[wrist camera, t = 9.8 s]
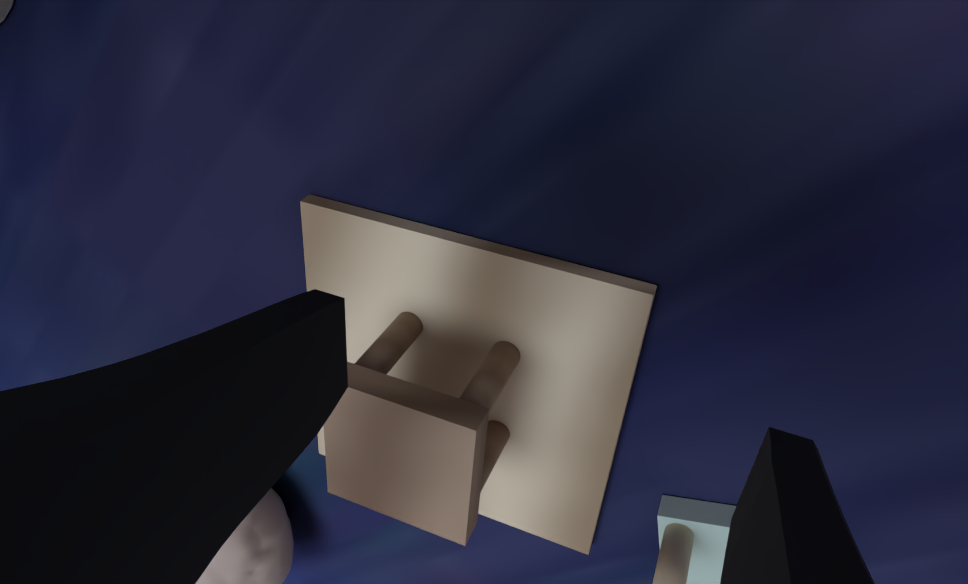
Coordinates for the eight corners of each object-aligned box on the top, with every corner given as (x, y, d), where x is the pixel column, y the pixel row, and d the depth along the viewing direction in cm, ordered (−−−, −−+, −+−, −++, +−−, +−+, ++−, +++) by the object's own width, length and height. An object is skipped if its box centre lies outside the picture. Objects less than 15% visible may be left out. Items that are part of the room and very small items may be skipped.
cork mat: (657, 285, 21) (653, 295, 20) (591, 542, 27) (588, 554, 27) (310, 194, 24) (300, 201, 24) (326, 444, 31) (318, 453, 30)
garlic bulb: (210, 504, 37) (86, 636, 31) (201, 418, 33) (58, 549, 27) (318, 556, 36) (211, 706, 29) (321, 473, 32) (199, 624, 26)
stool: (528, 342, 23) (476, 431, 19) (513, 451, 26) (464, 546, 22) (392, 301, 24) (320, 377, 21) (391, 408, 27) (327, 492, 23)
